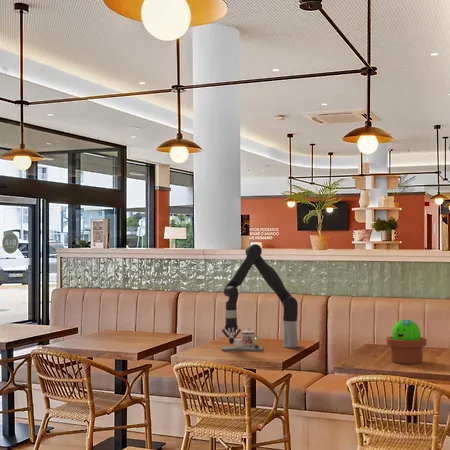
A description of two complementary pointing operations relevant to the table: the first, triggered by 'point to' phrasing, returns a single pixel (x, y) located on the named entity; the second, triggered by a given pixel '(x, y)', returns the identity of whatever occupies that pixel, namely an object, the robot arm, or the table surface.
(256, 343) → the plate
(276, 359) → the table surface
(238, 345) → the light grey block
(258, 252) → the robot arm
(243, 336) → the teacup with lid
